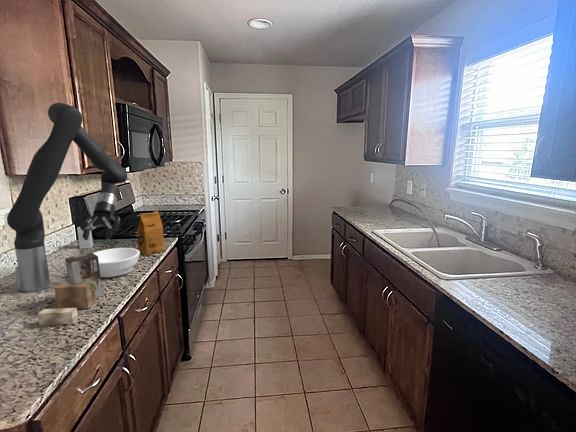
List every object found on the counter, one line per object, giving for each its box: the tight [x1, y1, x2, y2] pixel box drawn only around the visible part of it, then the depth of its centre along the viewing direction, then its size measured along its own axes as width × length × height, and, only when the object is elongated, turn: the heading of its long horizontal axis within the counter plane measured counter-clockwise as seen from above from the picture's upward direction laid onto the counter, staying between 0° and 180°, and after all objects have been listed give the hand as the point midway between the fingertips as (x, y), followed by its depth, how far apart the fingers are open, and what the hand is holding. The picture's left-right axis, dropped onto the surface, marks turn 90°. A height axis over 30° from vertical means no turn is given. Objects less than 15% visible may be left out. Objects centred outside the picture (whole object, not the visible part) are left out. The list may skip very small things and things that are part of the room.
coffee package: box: [136, 210, 165, 256], centre depth 176 cm, size 10×12×22 cm
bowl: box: [92, 247, 141, 278], centre depth 147 cm, size 22×22×8 cm
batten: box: [37, 308, 79, 326], centre depth 104 cm, size 10×3×4 cm, turn 96°
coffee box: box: [64, 252, 104, 299], centre depth 120 cm, size 9×6×16 cm
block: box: [54, 283, 97, 310], centre depth 115 cm, size 10×6×8 cm, turn 96°
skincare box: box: [76, 226, 94, 250], centre depth 185 cm, size 6×4×12 cm
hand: (96, 238), depth 130 cm, fingers open, 8 cm apart
